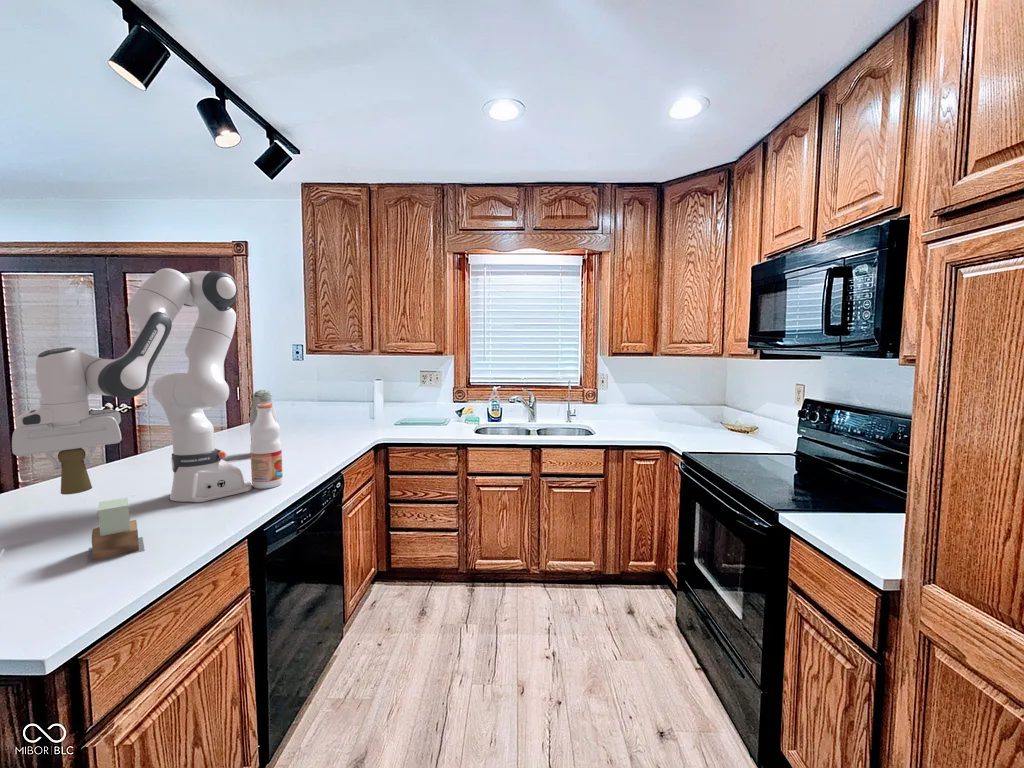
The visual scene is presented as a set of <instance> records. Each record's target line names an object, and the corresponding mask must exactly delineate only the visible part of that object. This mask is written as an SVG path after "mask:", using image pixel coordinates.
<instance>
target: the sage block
mask: <svg viewBox="0 0 1024 768" xmlns="http://www.w3.org/2000/svg"><path fill="white" fill-rule="evenodd" d="M128 502H129V500H128V497H122V498H121V497H120V498H116V499H111V500H110V499H109V500H103V501H99V502H98V509H97V511H98V525H99V526H98V527H100V536H105V535H110V534H115V533H120V532H125V531H130V523H129V521H130V513H129V512H130V511H129V503H128Z"/></svg>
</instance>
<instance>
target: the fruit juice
mask: <svg viewBox="0 0 1024 768" xmlns="http://www.w3.org/2000/svg"><path fill="white" fill-rule="evenodd" d="M256 410H257V417H256V420H255V422H254V423H253V425H252V426H251V428H250V427H249V430H250V431H249V433H250V434H249V435H250V438H251V437H252V442H251V441H250V451H249V452H250V469H251V485H252V488H254V489H262V490H264V489H272V488H276V487H279V486H281V485H282V484H283V478H284V477H283V460H282V459H283V455H282V441H281V439H280V433H281V426H280V424H279V423H278V421H277V422H276V421H275V420H274V418H273V415H272V411H271V410H272V404H269V403H265V404H257V405H256Z"/></svg>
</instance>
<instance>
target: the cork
mask: <svg viewBox="0 0 1024 768" xmlns="http://www.w3.org/2000/svg"><path fill="white" fill-rule="evenodd" d="M86 456H87V455H86V451H85V448H78V449H70V450H63V451H58V454H57V459H58V460H57V461H60V462H61V463H62V468H61V472H60V474H61V476H60V494H61V495H75V494H80V493H84V492H87V491H90V490H92V489H93V486H92V483H91V480H90V476H89V473H88V470H87V468H86V465H84V460H83V459H84V458H85V457H86Z"/></svg>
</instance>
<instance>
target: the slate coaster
mask: <svg viewBox="0 0 1024 768" xmlns="http://www.w3.org/2000/svg"><path fill="white" fill-rule="evenodd" d="M138 543H139V551H135V552H130V553H126V554H121V555H117V556H112V557H108V558H103V559H99V560H94V561H93V550H92V547H88V553H87V559H86V560H87V561H86V564H87V565H88V564H92V563H97V562H101V561H106V560H110V559H114V558H119V557H120V558H121V557H123V556H128V555H133V554H137V553H141V552H145V545H144V538H143V537H142V536H141V537H138Z"/></svg>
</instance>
